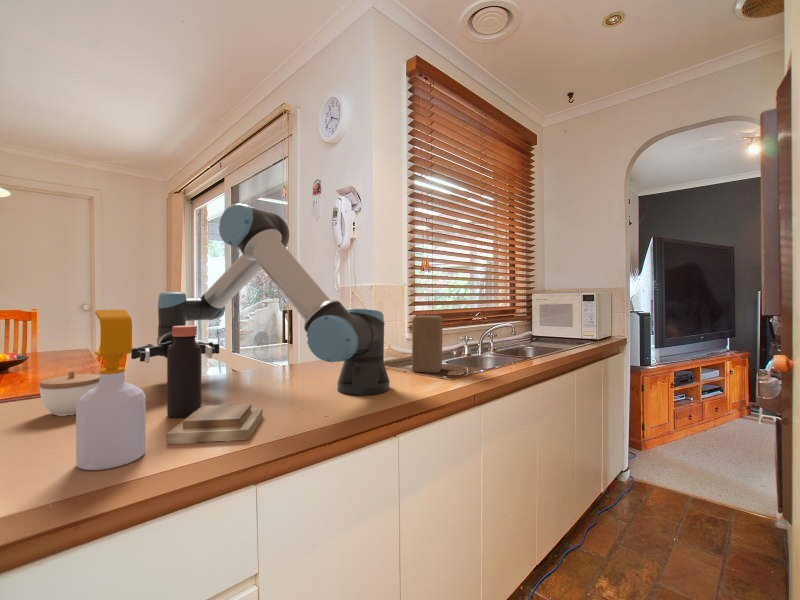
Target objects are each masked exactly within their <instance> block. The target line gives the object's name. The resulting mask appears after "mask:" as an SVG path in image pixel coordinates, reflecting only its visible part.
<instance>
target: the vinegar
mask: <svg viewBox="0 0 800 600" xmlns="http://www.w3.org/2000/svg"><path fill="white" fill-rule="evenodd" d="M197 330H198V328H197V325H186V326H173V327H172V336H174V337H172V338H173V339H174V343H173V344H172V345H171V346H170V347H169V348H168V349H167V358H166V359H167V362H166V363H167V364H166V366H167V367H166V369H167V371H166V372H167V373H166V374H167V375H166V381H167V383H166V388H167V391H166V392H167V393H166V399H167V401H166V403H167V404H166V405H167V406H166V407H167V408H166V415H167V417H169V418H172V419H181V418H187V417H188V416H189V415H190V414H192V413H193V412H194V411H196V410H198V409H199V408H200V407H201V406H202V354H201V347H200V346H199V345H198V344H197V343H198V342H196V338H197V336H198V333H197V332H198V331H197Z"/></svg>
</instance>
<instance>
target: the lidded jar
mask: <svg viewBox="0 0 800 600" xmlns="http://www.w3.org/2000/svg"><path fill="white" fill-rule="evenodd" d="M99 383H100V374H97V373H95V374H93V373H83V374H82V373H80V374H75V371H74V370H72V371H71V370H70V371H68V375H60V376H54V377H50V378H46V379H43V380H41V381H39V387H40V389H39V391H40V398H41V403H42V404H43V407H44V408H45V410H47V411H48V412H50V413H52V414H53V416H54V415H57V416H56V417H68V416H67V415H70V416H75V415H74V414H76V405H77V402H78V400H79V398H81V397H82V396H83V395H84V394H85V393H86V392H88V391H89V390H91V389H93V388H94V387H96V386H97V385H98V384H99Z"/></svg>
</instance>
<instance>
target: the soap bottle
mask: <svg viewBox="0 0 800 600" xmlns="http://www.w3.org/2000/svg"><path fill="white" fill-rule="evenodd" d="M94 314H95V315H96V316H97V318H98V321H99V324H100V325H99V326H100V349H99V350H96V351H94V355H95V356H98V357H101V360H102V361H105V362H106V363H105V368H101V369H99V375H100V383H99V384H98V385H97V386H96V387H94V388H93V389H91V390H89V391H88V392H86V393H85V394H84V395H83V396H82V397H81V398H79V400H78V402H77V405H76V415H75V464H76V465H77V467H78V468H79V469H81V470H85V471H102V470H109V469H115V468H119V467H122V466H125V465H128V464H131V463H133V462H135V461H137V460H138V459H140V458H141V457H143V456H144V454H145V453H146V447H147V446H146V445H147V444H146V442H147V441H146V440H147V439H146V436H147V435H146V429H147V428H146V423H147V422H146V419H147V418H146V417H147V416H146V409H147V408H146V404H147V403H146V400H147V399H146V398H147V396H146V394H145V392H144V390H143V389H141V388H139V387H137V386H136V385H134V384H132V383H128V382H127V381H126V371H125V370H126V369H125V367H123V366H120V365H119V363H120V362H119V361H120V360H122V359H123V357H124V356H123V355H126V354H127V355H128V354H131V351H132V349H133V321H132V316H131V315H130V314H129V313H128V312H127V311H126V310H125V309H96V310H95V312H94Z"/></svg>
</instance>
